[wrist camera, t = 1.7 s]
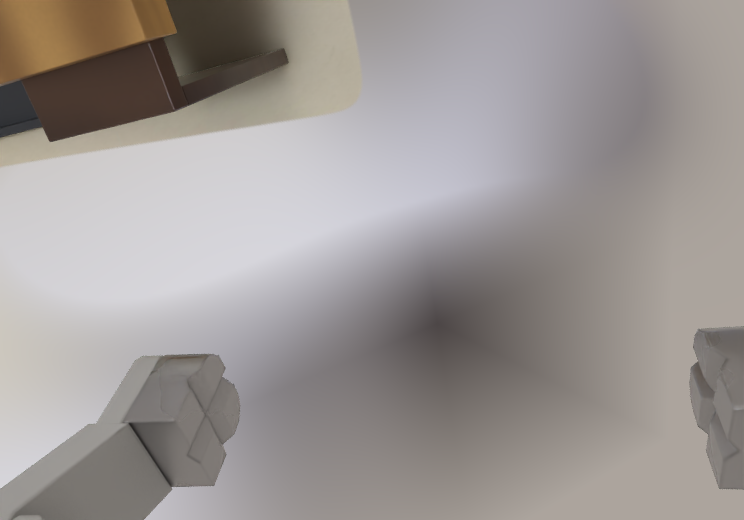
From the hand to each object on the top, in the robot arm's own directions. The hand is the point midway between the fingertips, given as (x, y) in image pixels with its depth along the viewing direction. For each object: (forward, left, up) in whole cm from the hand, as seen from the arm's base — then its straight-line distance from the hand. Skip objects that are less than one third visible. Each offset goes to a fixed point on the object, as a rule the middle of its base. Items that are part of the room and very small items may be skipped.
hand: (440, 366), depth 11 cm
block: (-9, -28, -23) cm, 37 cm away
